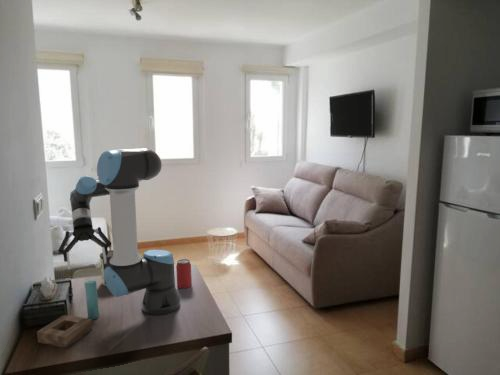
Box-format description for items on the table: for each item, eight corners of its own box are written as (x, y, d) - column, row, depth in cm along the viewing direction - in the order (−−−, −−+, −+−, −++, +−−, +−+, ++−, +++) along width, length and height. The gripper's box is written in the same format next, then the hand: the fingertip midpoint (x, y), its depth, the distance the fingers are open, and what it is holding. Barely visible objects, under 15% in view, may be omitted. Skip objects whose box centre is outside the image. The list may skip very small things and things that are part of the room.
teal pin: (101, 314, 145) (98, 281, 143) (94, 319, 142) (91, 285, 139) (92, 313, 147) (89, 279, 144) (85, 318, 143) (82, 284, 141)
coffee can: (129, 280, 178) (127, 251, 176) (111, 288, 170) (109, 258, 167) (115, 275, 184) (113, 248, 181) (97, 283, 175) (94, 254, 173)
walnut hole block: (91, 329, 135) (90, 319, 134) (66, 348, 124) (65, 337, 123) (65, 324, 138) (64, 314, 138) (38, 342, 127) (36, 331, 127)
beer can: (174, 286, 171) (173, 261, 169) (186, 281, 175) (185, 257, 173) (182, 290, 166) (181, 265, 164) (194, 286, 170) (193, 261, 169)
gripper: (112, 221, 170) (119, 263, 159) (50, 229, 159) (53, 274, 148) (112, 213, 164) (120, 255, 154) (49, 220, 153) (52, 266, 142)
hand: (87, 265), depth 151 cm, fingers open, 13 cm apart
